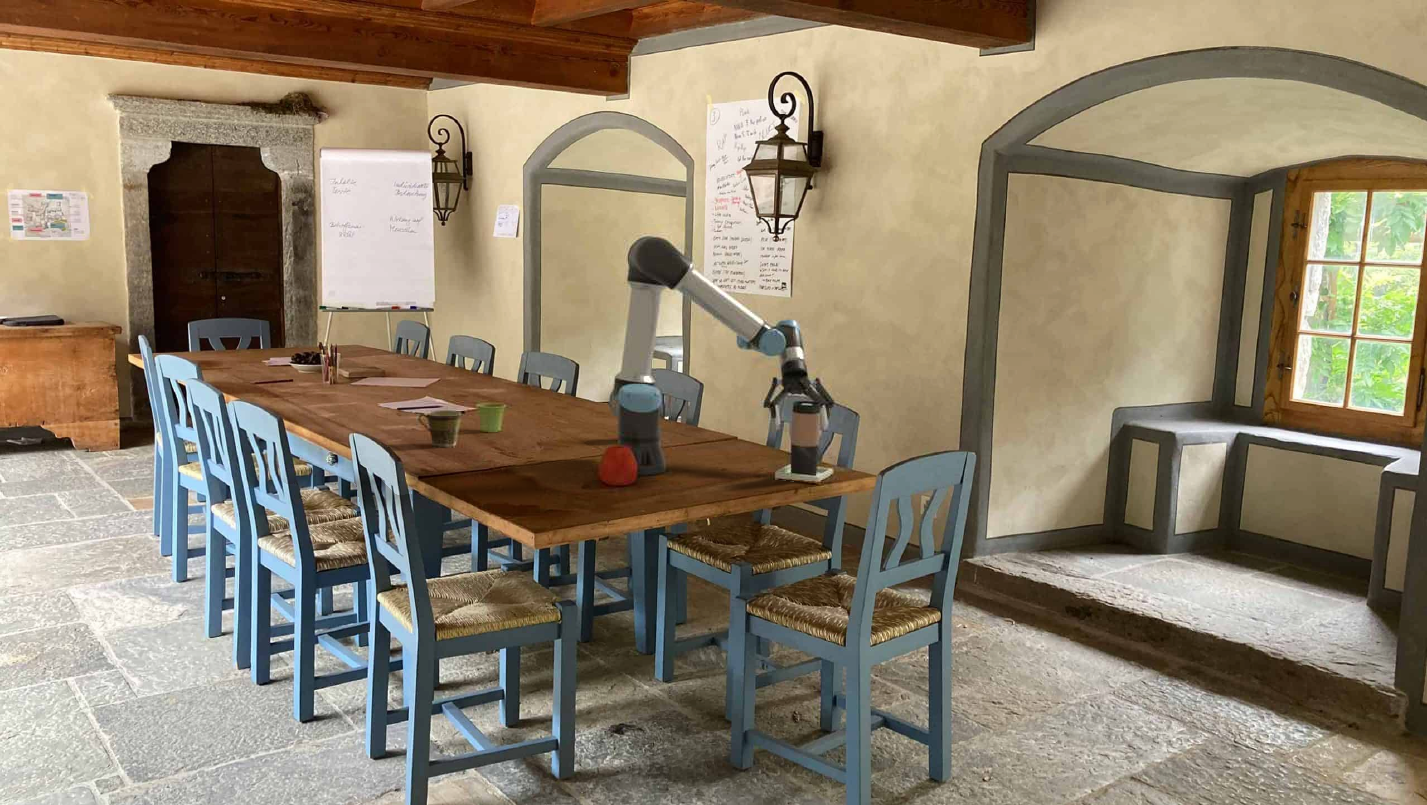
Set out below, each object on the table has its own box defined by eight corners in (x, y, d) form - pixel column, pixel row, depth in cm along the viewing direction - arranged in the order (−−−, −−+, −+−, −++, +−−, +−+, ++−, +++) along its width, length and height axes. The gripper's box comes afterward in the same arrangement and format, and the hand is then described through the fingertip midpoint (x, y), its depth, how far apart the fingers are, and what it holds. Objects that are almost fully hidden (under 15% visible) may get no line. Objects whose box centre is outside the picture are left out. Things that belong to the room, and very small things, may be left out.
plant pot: (473, 429, 363) (473, 403, 362) (501, 428, 367) (501, 402, 366) (480, 434, 355) (480, 407, 354) (509, 433, 359) (509, 406, 358)
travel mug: (822, 474, 306) (825, 402, 303) (810, 478, 300) (813, 406, 297) (797, 470, 310) (800, 400, 307) (784, 475, 304) (787, 403, 301)
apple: (617, 477, 299) (618, 439, 297) (645, 483, 293) (646, 444, 291) (590, 483, 291) (591, 444, 290) (618, 489, 285) (619, 449, 283)
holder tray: (818, 484, 297) (818, 477, 297) (774, 479, 302) (775, 471, 302) (832, 475, 308) (833, 468, 308) (790, 470, 313) (790, 463, 313)
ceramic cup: (465, 443, 340) (465, 411, 338) (455, 449, 330) (454, 416, 328) (424, 441, 341) (424, 409, 339) (413, 447, 331) (412, 414, 330)
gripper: (832, 374, 326) (842, 434, 313) (749, 373, 322) (756, 434, 310) (837, 359, 320) (848, 419, 307) (753, 358, 316) (760, 418, 304)
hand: (802, 427), depth 309 cm, fingers open, 13 cm apart
